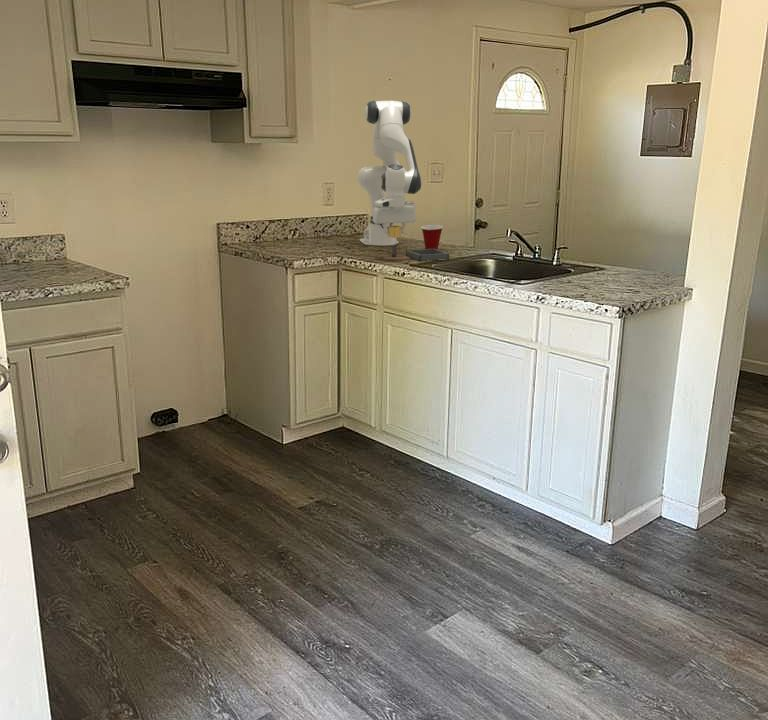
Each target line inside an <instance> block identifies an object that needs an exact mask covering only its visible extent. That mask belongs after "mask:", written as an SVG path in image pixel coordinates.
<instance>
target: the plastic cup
mask: <svg viewBox="0 0 768 720" xmlns="http://www.w3.org/2000/svg"><path fill="white" fill-rule="evenodd" d="M443 228H444V226H442V225H439V224H432V225H431V224H428V225H424V226H421V227H420V229H421V230H422V231H421V232H422V236H423V242H424V249H437V250H439V244H440V240H441V235H442V231H443Z"/></svg>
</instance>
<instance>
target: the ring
mask: <svg viewBox="0 0 768 720" xmlns="http://www.w3.org/2000/svg"><path fill="white" fill-rule="evenodd" d="M401 227H402V226H401V225H394V226H387V229H389V233H387V237H393V238H394V237H395V238H396V239H398V238H401V237H402V233H401Z"/></svg>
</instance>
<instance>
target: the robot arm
mask: <svg viewBox="0 0 768 720" xmlns="http://www.w3.org/2000/svg"><path fill="white" fill-rule="evenodd" d="M364 116H365V119H366V122H368V124H371V125H372V124H373V125H374V126H373V127H374V129H373V139H372V140H373V141H372V153H373V155H374V156H375V157H376V158H378V159H379V160H381V161H382V165H370V166H365V167H362V168H360V169H359V171H358V173H357V182H358V184H359V185H360V187H361V188H362V189H364V190H365V192H367V194H368V196H369V200H370V204H371V206H370V208H371V216H369V217H370V218H369V224H368V225H367V227H366V228H365V230H362V235H363V237H362V238H360V239H359V242H361V243H362V244H363V245H366V246H383V247H385V246H391V245H397V244H399V243H400V242H399V240H397V239H398V238H395V237H394V238H393V237H387V233H389V229H387V226H395V225H394V224H401V225H402V226H401V234H402V233H403V234H404V232H405V228H406V226H407V224H409V223H415V222H416V219H417V216H416V214H417V213H416V207H417V206H416V203H415V202H414V201H406V199H405V198H406V196H405V195H406V194H408V195H409V194H410V195H415V194H417V193H418V192H419V191H420V190H421V189H422V185H423V184H422V183H423V181H422V178H421V175H420V171H419V168H418V163H417V159H416V155H415V150H414V145H413V143H412V141H411V139H410V138H408V137H407V135H406V134H405V131H404V125H406V124H409V121H410V119H411V116H412V108H411V106H410V104H409V102H406V101H403V100H402V101H397V100H377V101H376V100H371V101H368V103H366V106H365V109H364ZM396 152H398V153H400V154H402V155H403V156H404V157H405V160H406V165H407V169H408V171H407V170H406V169H405V167H404V166H403V165H401V164H400V162H399V160H398V158H397V153H396ZM383 191H384V192H385V194H384V192H383Z"/></svg>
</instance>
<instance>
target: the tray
mask: <svg viewBox="0 0 768 720" xmlns="http://www.w3.org/2000/svg"><path fill="white" fill-rule="evenodd" d="M405 256H407V257H409V258H410V260H414V261H416V260H417V261H416V262H419V261H425V262H428V261H427V260H439V259H449V260H450V253H449V252H445V251H444V250H443V251H442V250H440V249H438V250H437V249H425V248H422V249H406V250H405Z"/></svg>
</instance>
